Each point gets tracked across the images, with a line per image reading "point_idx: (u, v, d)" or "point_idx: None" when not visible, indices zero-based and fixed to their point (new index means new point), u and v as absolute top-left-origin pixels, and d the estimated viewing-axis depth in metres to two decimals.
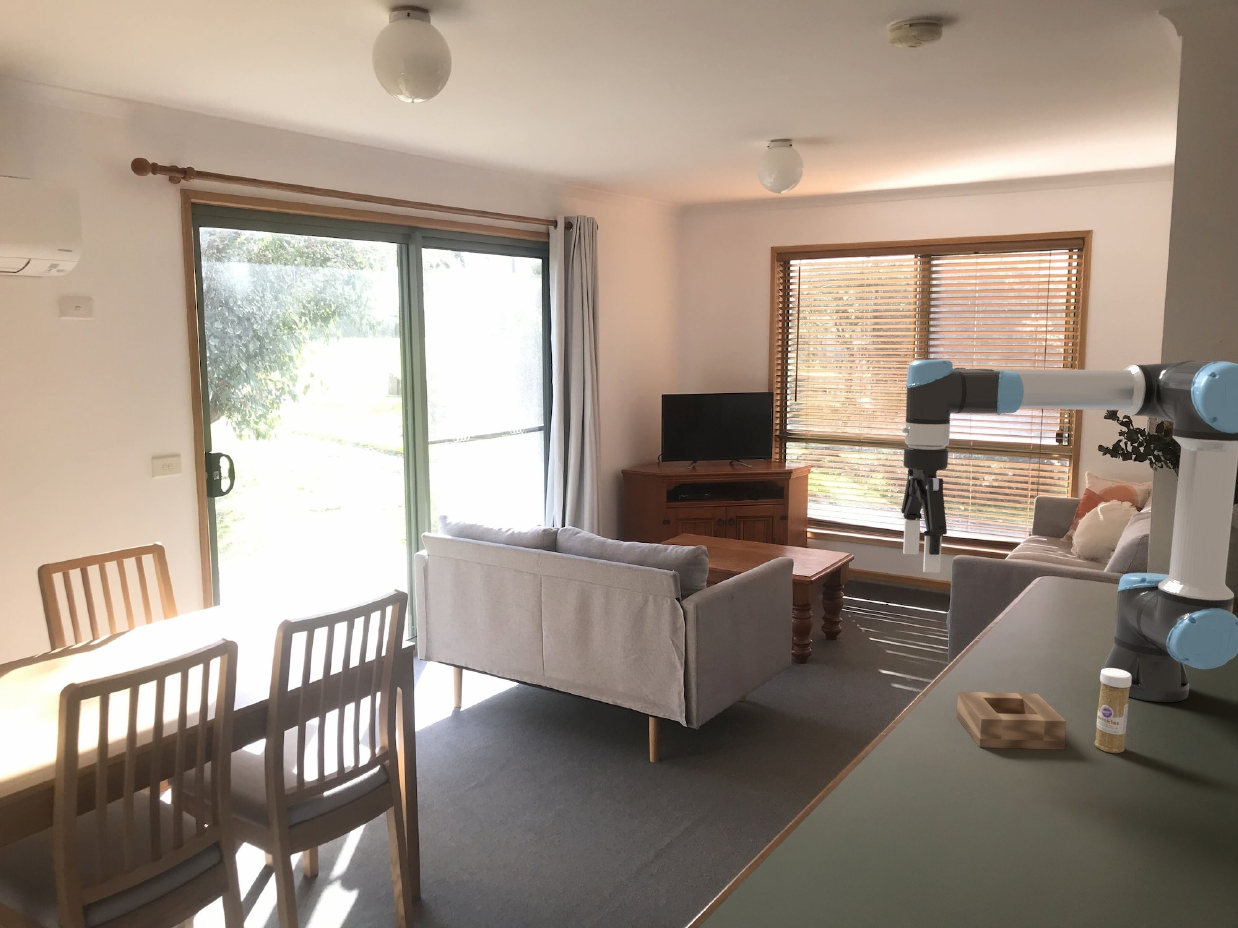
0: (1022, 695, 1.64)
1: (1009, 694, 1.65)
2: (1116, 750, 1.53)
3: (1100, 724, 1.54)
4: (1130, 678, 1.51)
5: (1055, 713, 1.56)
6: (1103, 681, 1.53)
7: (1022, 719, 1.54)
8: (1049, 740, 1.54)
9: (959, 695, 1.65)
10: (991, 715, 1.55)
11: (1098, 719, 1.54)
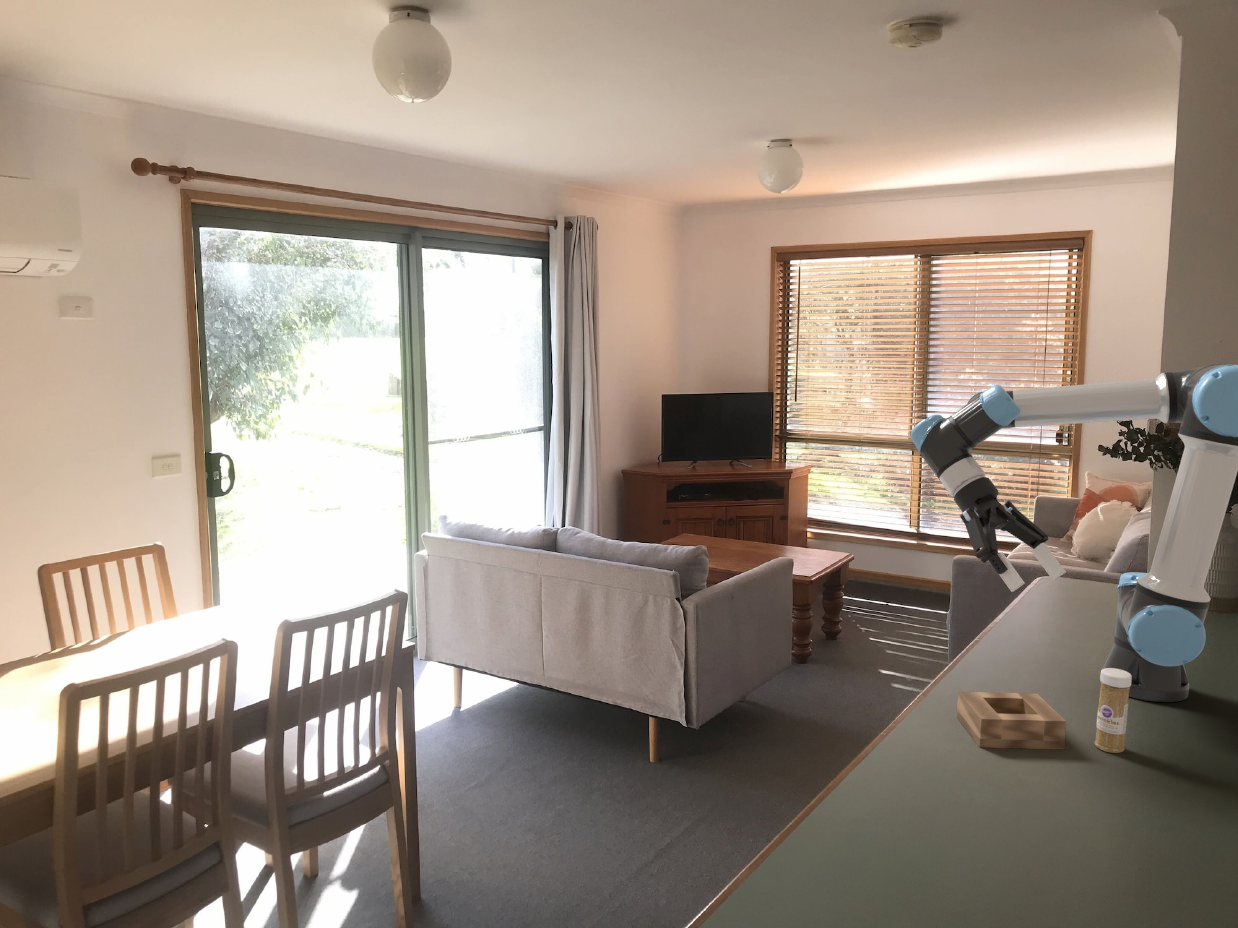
0: (1022, 695, 1.64)
1: (1009, 694, 1.65)
2: (1116, 750, 1.53)
3: (1100, 724, 1.54)
4: (1130, 678, 1.51)
5: (1055, 713, 1.56)
6: (1103, 681, 1.53)
7: (1022, 719, 1.54)
8: (1049, 740, 1.54)
9: (959, 695, 1.65)
10: (991, 715, 1.55)
11: (1098, 719, 1.54)
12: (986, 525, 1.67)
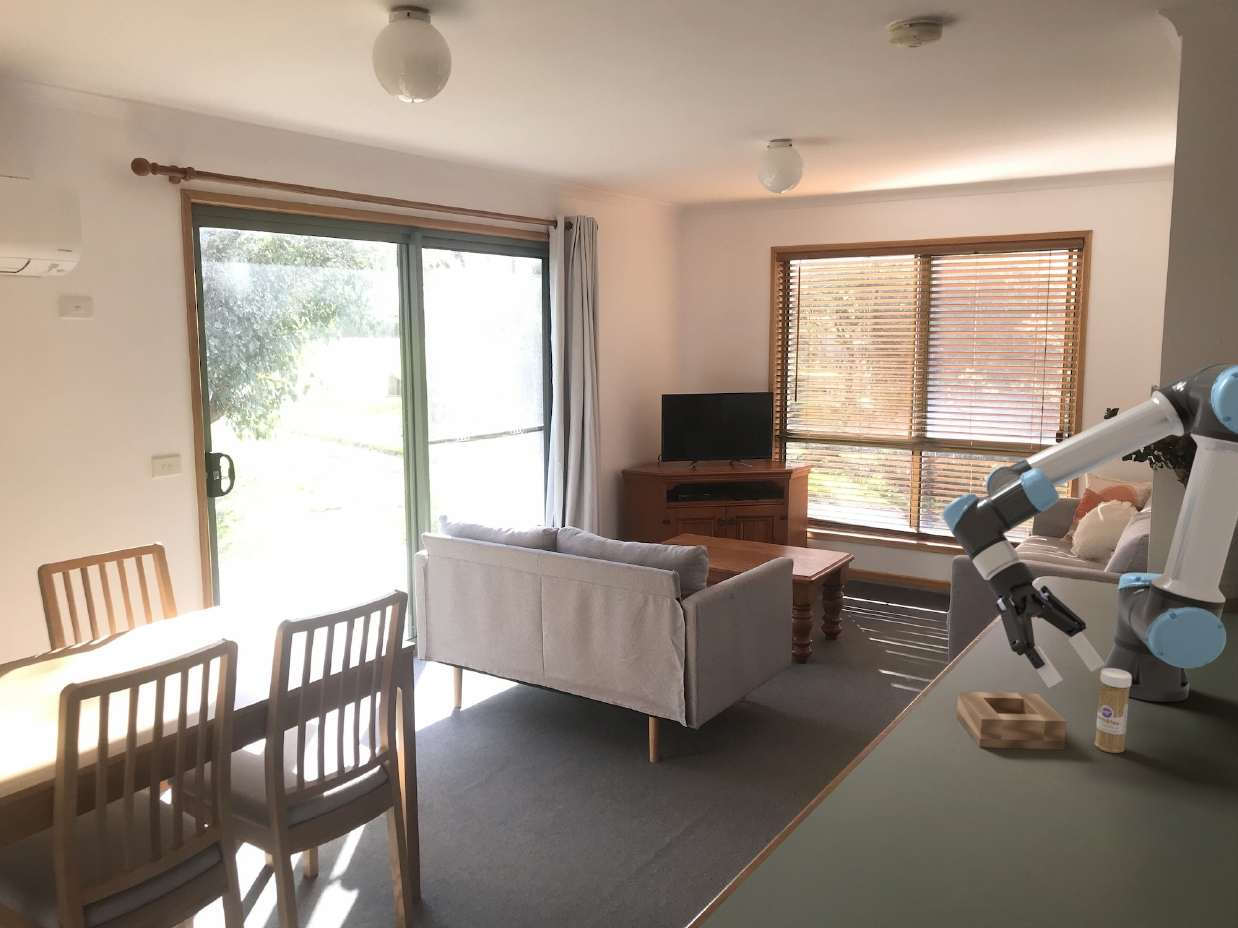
0: (1022, 695, 1.64)
1: (1009, 694, 1.65)
2: (1116, 750, 1.53)
3: (1100, 724, 1.54)
4: (1130, 678, 1.51)
5: (1055, 713, 1.56)
6: (1103, 681, 1.53)
7: (1022, 719, 1.54)
8: (1049, 740, 1.54)
9: (959, 695, 1.65)
10: (991, 715, 1.55)
11: (1098, 719, 1.54)
12: (1022, 614, 1.61)
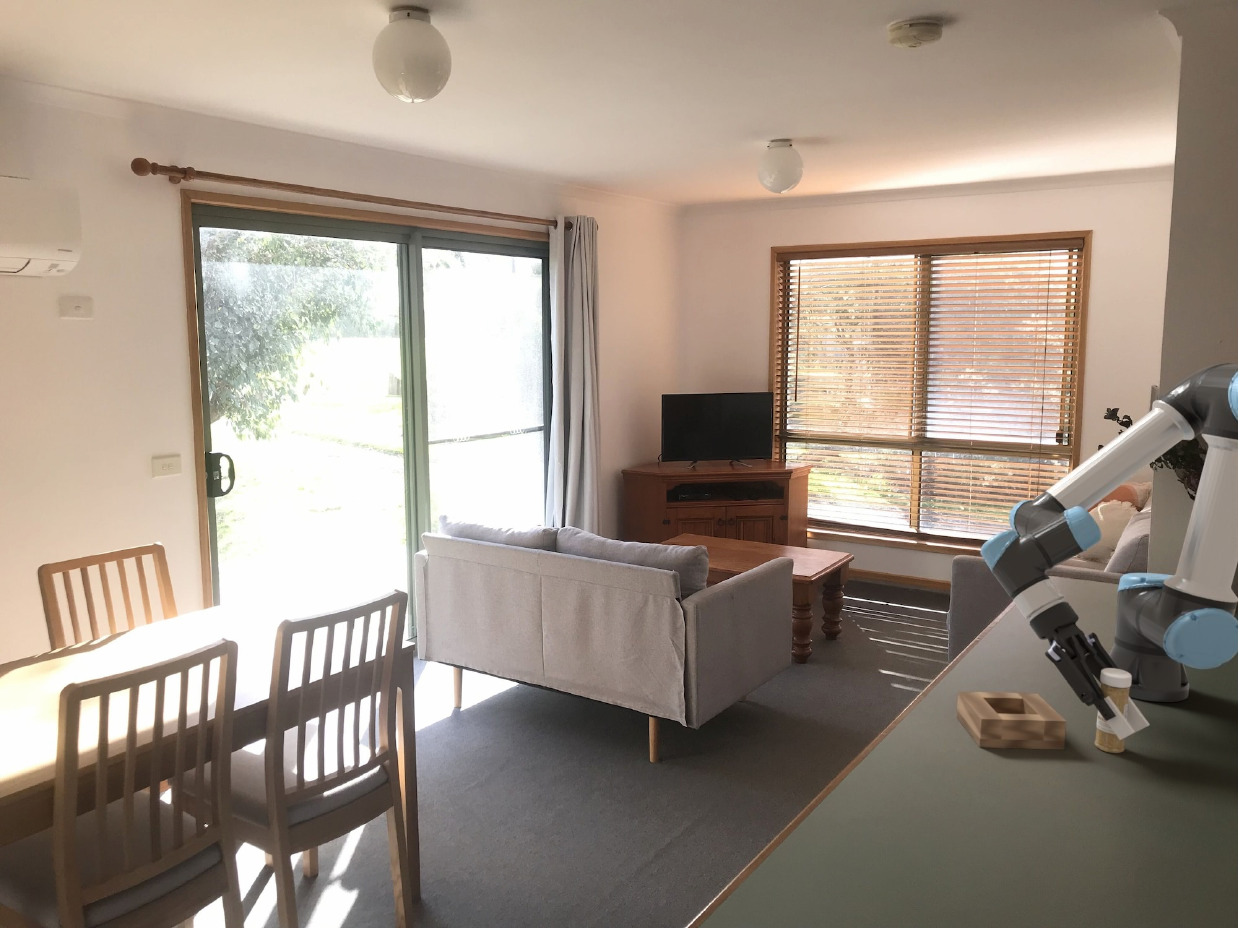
0: (1022, 695, 1.64)
1: (1009, 694, 1.65)
2: (1116, 750, 1.53)
3: (1100, 724, 1.54)
4: (1130, 678, 1.51)
5: (1055, 713, 1.56)
6: (1103, 681, 1.53)
7: (1022, 719, 1.54)
8: (1049, 740, 1.54)
9: (959, 695, 1.65)
10: (991, 715, 1.55)
11: (1098, 719, 1.54)
12: (1076, 660, 1.56)
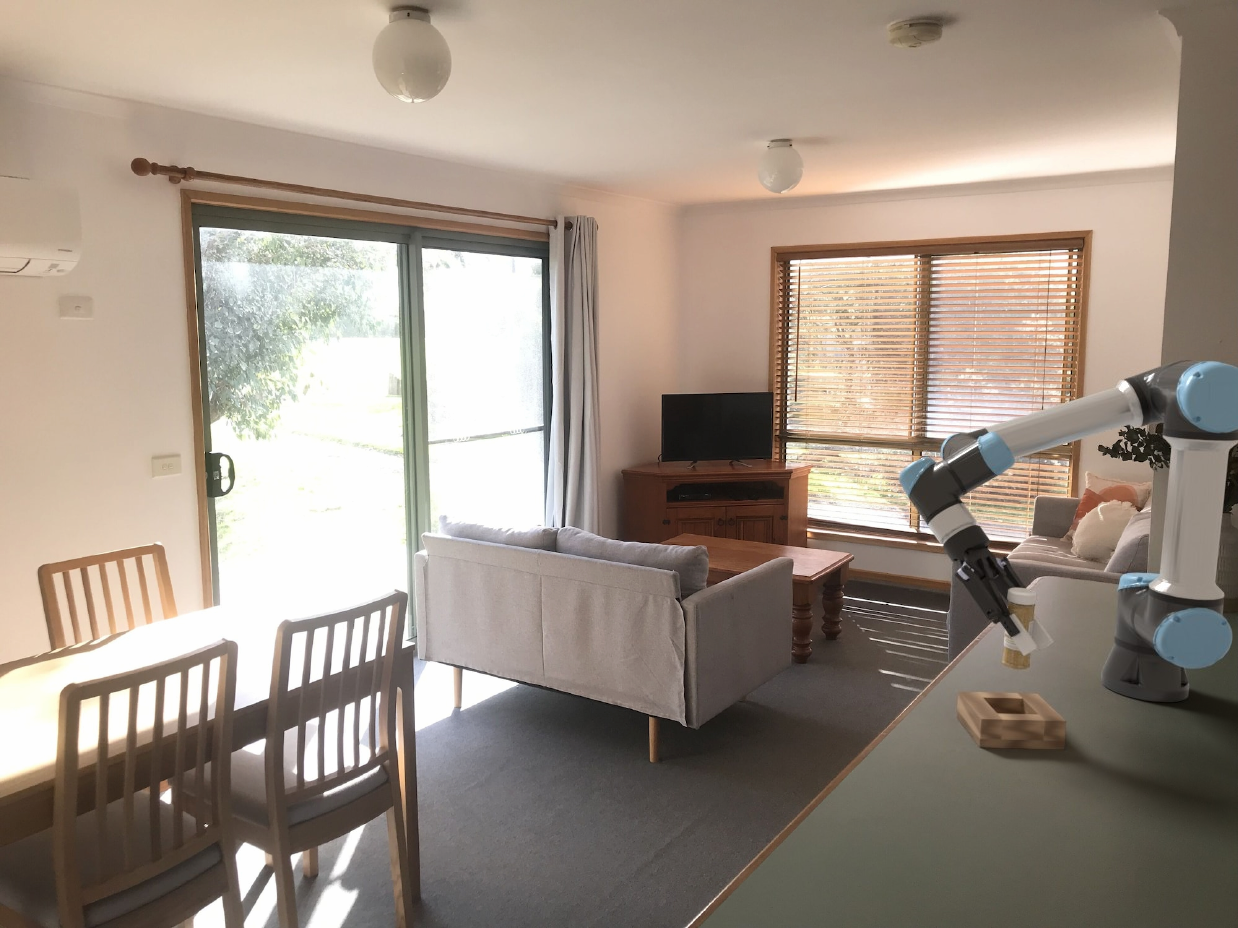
0: (1022, 695, 1.64)
1: (1009, 694, 1.65)
2: (1021, 667, 1.56)
3: (1007, 641, 1.57)
4: (1035, 596, 1.55)
5: (1055, 713, 1.56)
6: (1009, 599, 1.56)
7: (1022, 719, 1.54)
8: (1049, 740, 1.54)
9: (959, 695, 1.65)
10: (991, 715, 1.55)
11: (1005, 638, 1.58)
12: (984, 580, 1.59)
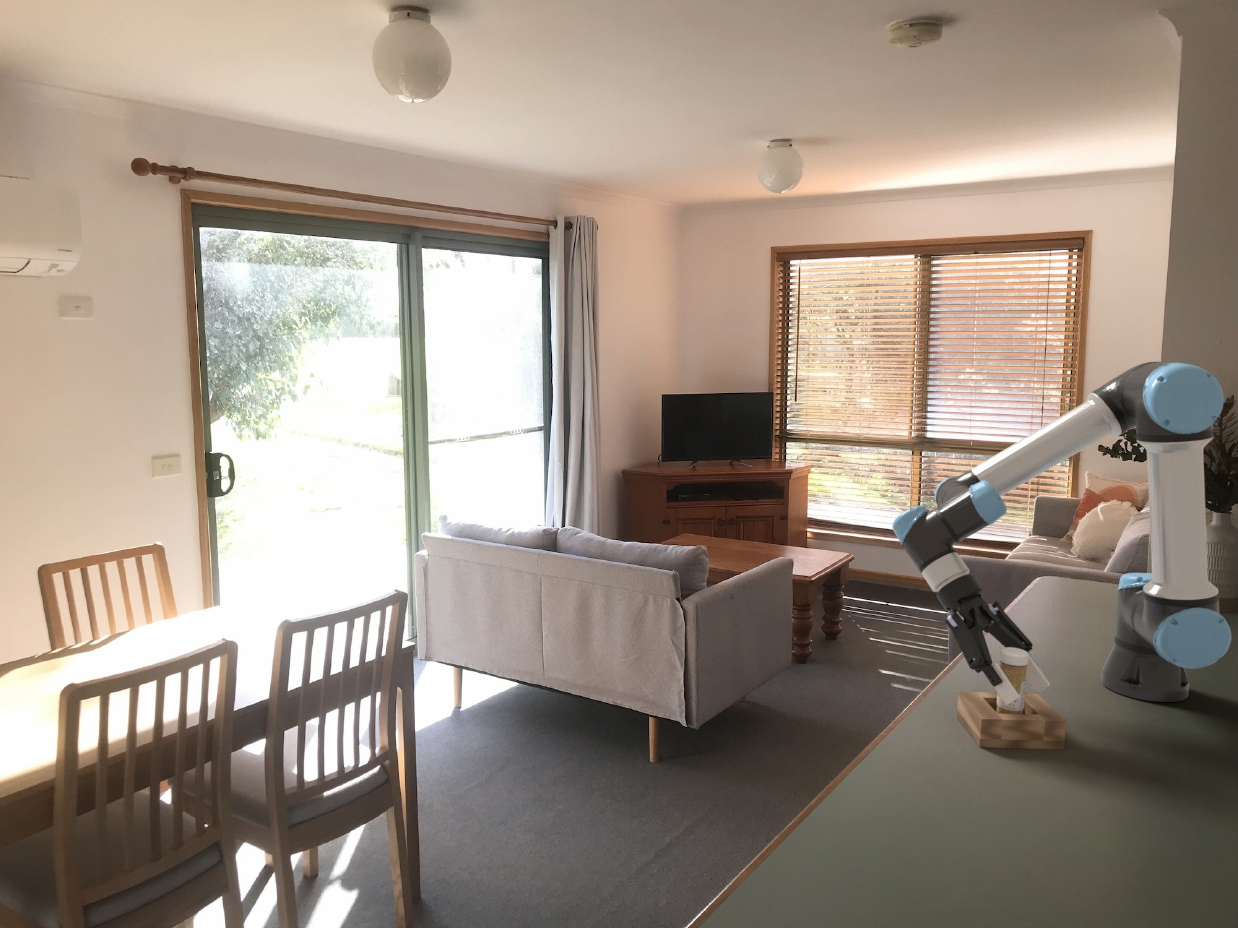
0: None
1: None
2: None
3: (999, 701, 1.59)
4: (1027, 656, 1.57)
5: (1055, 713, 1.56)
6: (1001, 660, 1.58)
7: (1022, 719, 1.54)
8: (1049, 740, 1.54)
9: (959, 695, 1.65)
10: (991, 715, 1.55)
11: (997, 697, 1.60)
12: (973, 629, 1.61)
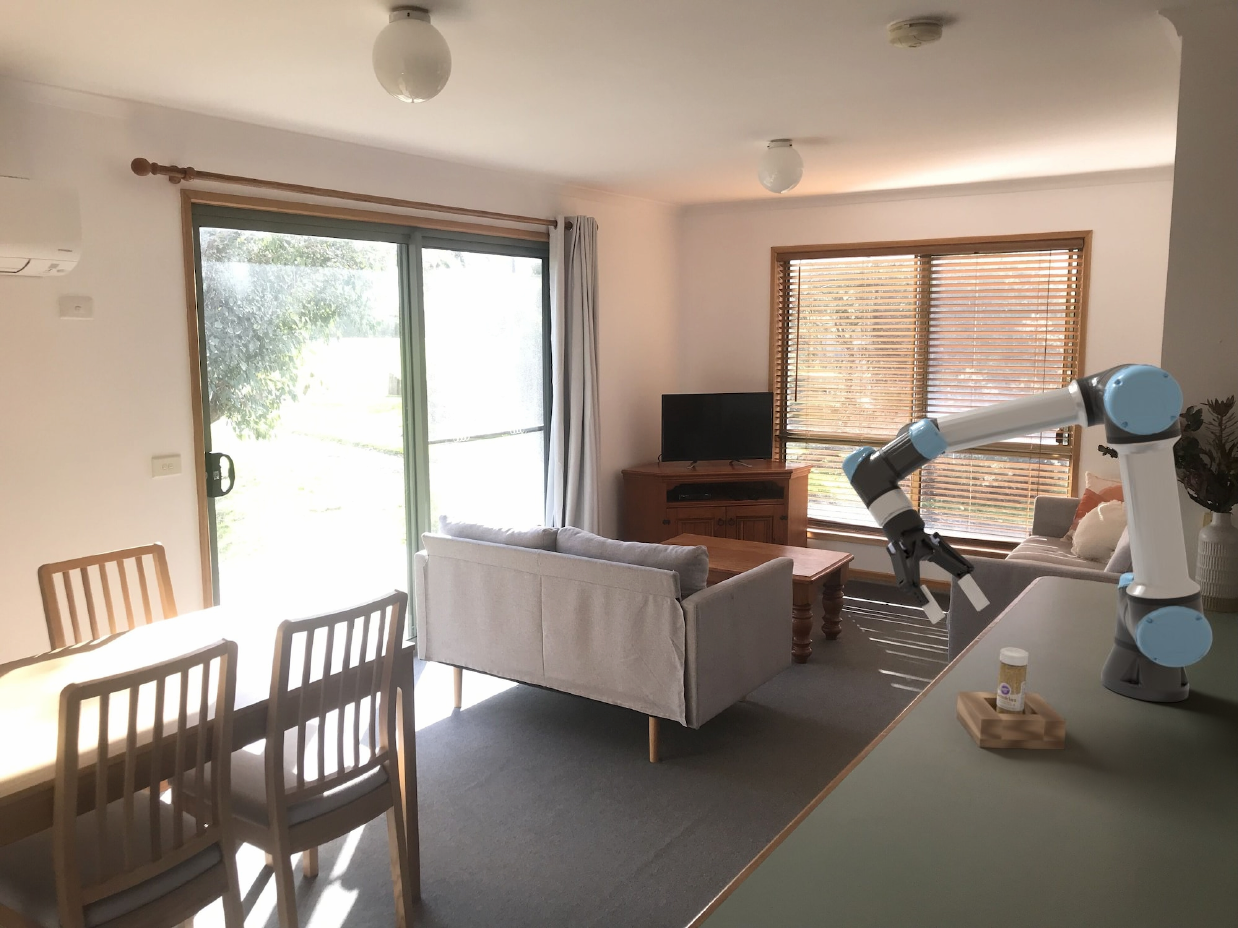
0: None
1: None
2: None
3: (999, 701, 1.59)
4: (1027, 656, 1.57)
5: (1055, 713, 1.56)
6: (1001, 659, 1.58)
7: (1022, 719, 1.54)
8: (1049, 740, 1.54)
9: (959, 695, 1.65)
10: (991, 715, 1.55)
11: (997, 697, 1.60)
12: (911, 557, 1.69)
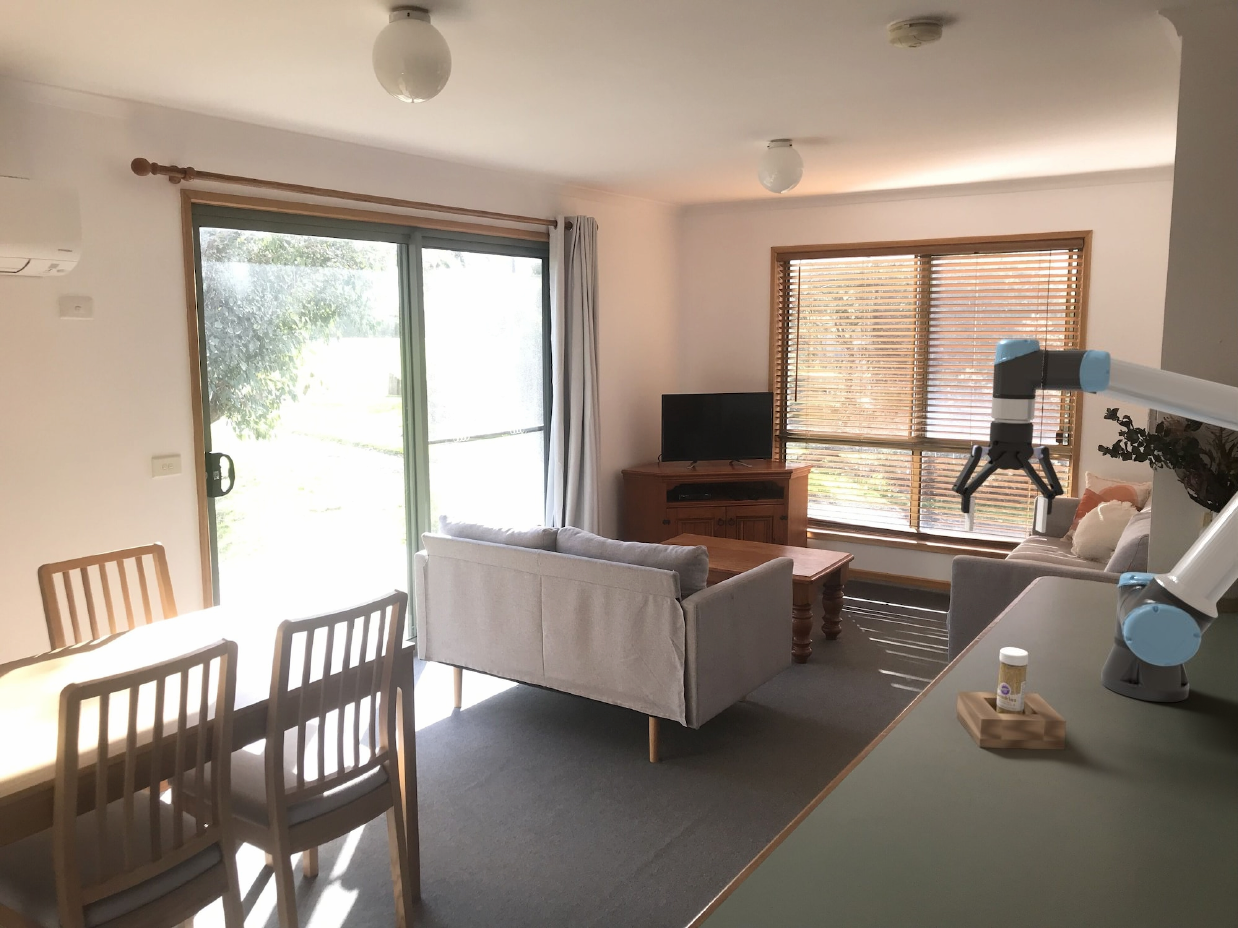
0: None
1: None
2: None
3: (999, 701, 1.59)
4: (1027, 656, 1.57)
5: (1055, 713, 1.56)
6: (1001, 659, 1.58)
7: (1022, 719, 1.54)
8: (1049, 740, 1.54)
9: (959, 695, 1.65)
10: (991, 715, 1.55)
11: (997, 697, 1.60)
12: (988, 466, 1.74)
